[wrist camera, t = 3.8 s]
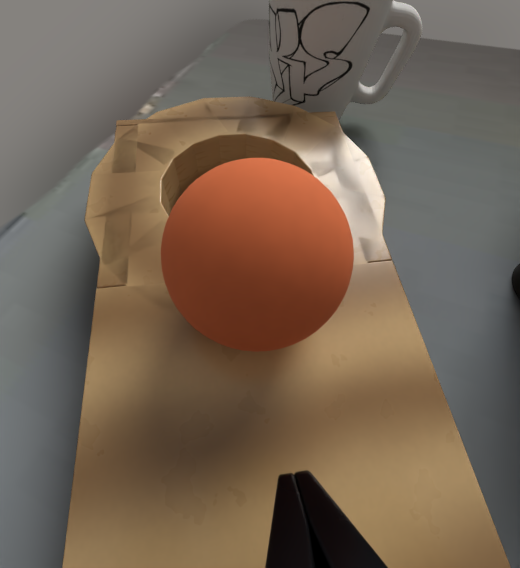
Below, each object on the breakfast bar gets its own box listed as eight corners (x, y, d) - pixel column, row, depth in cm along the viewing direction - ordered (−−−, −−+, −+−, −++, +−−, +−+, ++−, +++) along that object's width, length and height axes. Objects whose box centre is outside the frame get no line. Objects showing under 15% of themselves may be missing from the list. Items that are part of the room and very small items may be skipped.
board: (483, 601, 13) (585, 671, 9) (75, 691, 12) (-14, 825, 8) (327, 145, 26) (342, 92, 22) (125, 155, 25) (102, 101, 21)
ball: (333, 370, 13) (415, 310, 7) (171, 368, 13) (102, 303, 7) (320, 238, 16) (367, 115, 10) (190, 234, 16) (155, 105, 10)
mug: (377, 92, 30) (433, -51, 21) (389, 150, 27) (462, 5, 18) (264, 83, 30) (272, -66, 21) (259, 139, 26) (266, -13, 17)
